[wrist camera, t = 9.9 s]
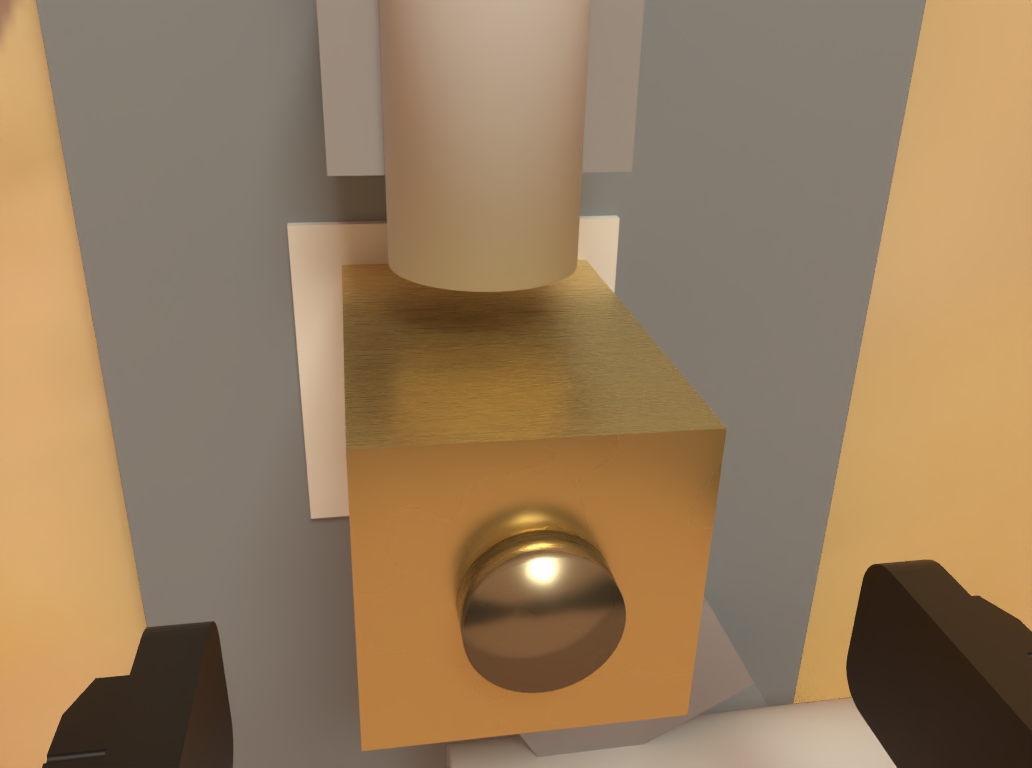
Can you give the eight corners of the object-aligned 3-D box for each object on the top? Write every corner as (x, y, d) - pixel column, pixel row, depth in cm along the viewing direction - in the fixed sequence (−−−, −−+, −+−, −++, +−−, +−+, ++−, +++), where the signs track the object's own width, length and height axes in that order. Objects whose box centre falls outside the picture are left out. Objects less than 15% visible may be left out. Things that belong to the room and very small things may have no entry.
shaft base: (1031, -484, 15) (1408, -723, 10) (775, 835, 27) (880, 1045, 22) (-46, -610, 12) (-331, -1038, 7) (211, 915, 25) (177, 1176, 19)
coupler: (341, 264, 17) (346, 476, 10) (585, 259, 17) (746, 452, 11) (352, 482, 18) (362, 787, 12) (572, 468, 19) (703, 747, 12)
